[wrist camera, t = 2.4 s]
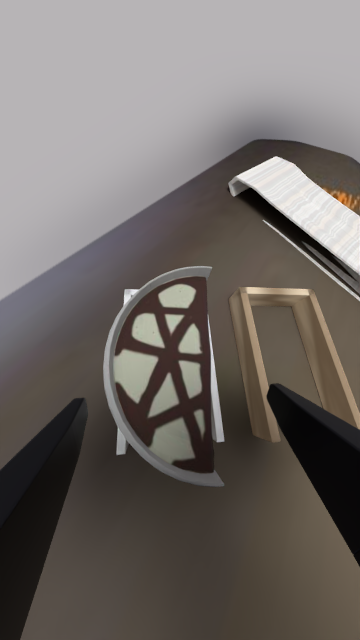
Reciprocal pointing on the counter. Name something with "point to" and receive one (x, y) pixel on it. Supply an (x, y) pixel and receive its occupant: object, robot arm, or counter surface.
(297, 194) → the long white curved panel
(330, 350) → the tan wooden u-shaped piece
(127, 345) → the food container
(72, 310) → the counter surface
